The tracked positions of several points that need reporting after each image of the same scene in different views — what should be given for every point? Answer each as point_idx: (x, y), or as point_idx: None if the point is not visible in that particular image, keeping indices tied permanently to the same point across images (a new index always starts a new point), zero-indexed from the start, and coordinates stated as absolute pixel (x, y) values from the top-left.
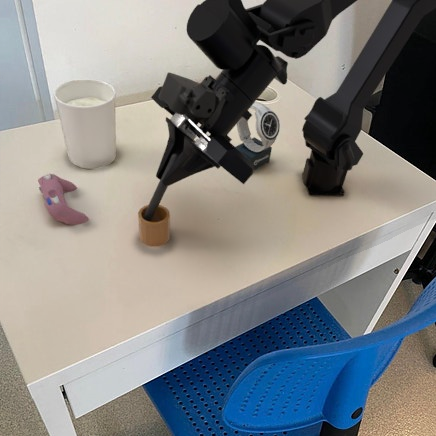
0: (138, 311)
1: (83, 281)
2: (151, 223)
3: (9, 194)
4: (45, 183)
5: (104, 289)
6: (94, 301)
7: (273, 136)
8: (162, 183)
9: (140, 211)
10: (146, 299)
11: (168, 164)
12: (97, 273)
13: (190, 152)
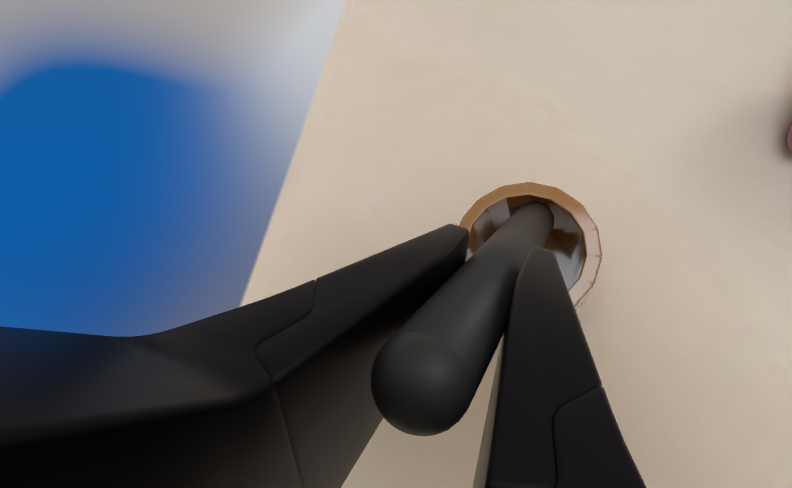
0: (368, 77)
1: (545, 20)
2: (482, 200)
3: None
4: None
5: (480, 50)
6: (466, 13)
7: None
8: (454, 226)
9: (580, 216)
10: (379, 112)
11: (459, 301)
12: (543, 63)
13: (55, 332)
